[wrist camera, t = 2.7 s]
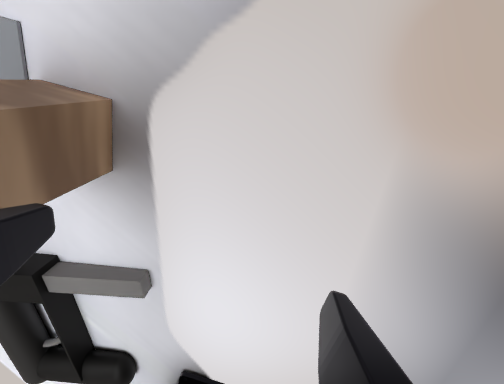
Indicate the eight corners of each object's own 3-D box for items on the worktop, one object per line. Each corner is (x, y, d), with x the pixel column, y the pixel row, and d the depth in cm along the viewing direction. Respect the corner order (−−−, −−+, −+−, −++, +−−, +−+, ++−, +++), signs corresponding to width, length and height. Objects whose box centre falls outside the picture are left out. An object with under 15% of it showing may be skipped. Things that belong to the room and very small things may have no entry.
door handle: (113, 216, 15) (-112, 209, 17) (165, 405, 23) (9, 388, 25) (141, 194, 18) (-53, 189, 20) (178, 368, 26) (39, 355, 28)
